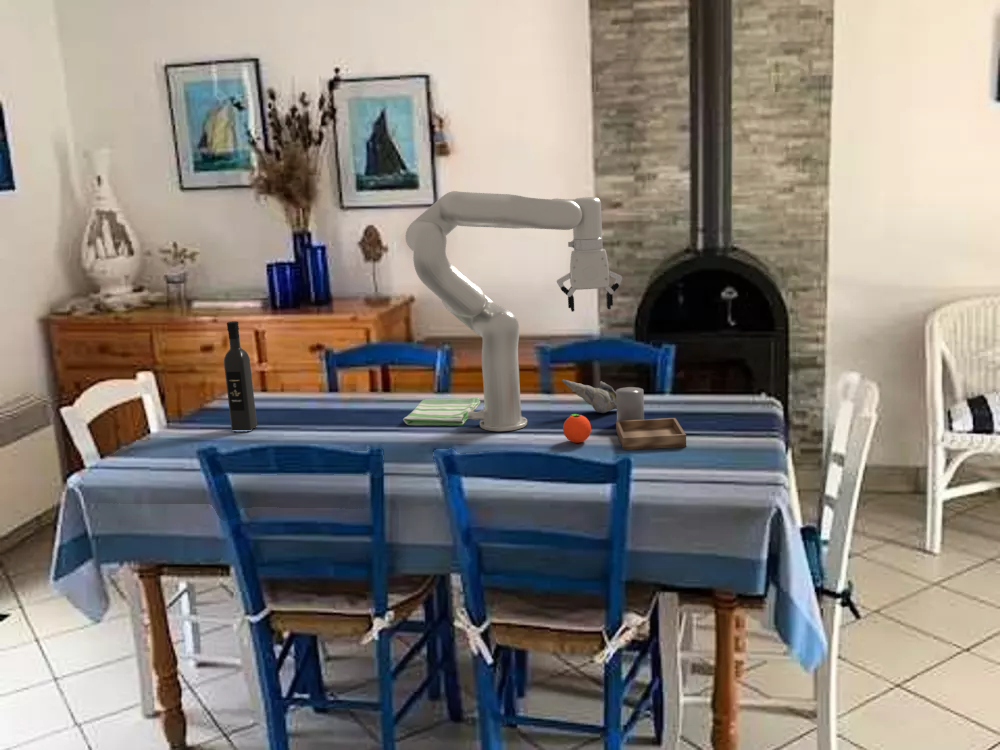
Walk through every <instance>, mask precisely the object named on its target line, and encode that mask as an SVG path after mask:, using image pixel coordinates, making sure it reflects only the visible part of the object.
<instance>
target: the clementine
mask: <svg viewBox="0 0 1000 750" xmlns="http://www.w3.org/2000/svg"><path fill="white" fill-rule="evenodd" d="M562 426H563V427H562V430H563V434H564V436H565V438H566V439H567V440H568V441H570V442H571V443H574V444H576V443H577V444H579V443H583V442H585V441H586V440H587V439H588V438H589V437H590V435H591V432H592V426H591V422H590V421H589V419H588V418H587V417H586V416H584V415H582V414H577V413H573V414H570V415H569V417H567V418H566V420H564V423H563V425H562Z"/></svg>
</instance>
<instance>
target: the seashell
mask: <svg viewBox="0 0 1000 750" xmlns="http://www.w3.org/2000/svg"><path fill="white" fill-rule="evenodd" d="M561 382H562V383H564V385H565V386H567V387H568V388H569V389H570V390H571V391H572V392H574V393H575V394H576V395H577V396H578V397H579V398H581V399H583V400H584V402H585V403H587V404H588V405H590V406H591V407H592V408H593V409H594V411H595V413H601V414H605V413H608V412H609V411H612V410H617V404H616V390H614V388H613V386H611V385H609V384H607V383H606V382H603V381H602V380H601V381H599V385H598V387H593V386H591V385H588V384H582V383H578V382H575V381H570V380H567V379H561Z"/></svg>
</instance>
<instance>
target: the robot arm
mask: <svg viewBox="0 0 1000 750" xmlns="http://www.w3.org/2000/svg"><path fill="white" fill-rule="evenodd" d="M602 217H603V216H602V202H601V200H600V199H599V197H596V196H585V197H577V198H571V199H570V198H568V199H567V198H566V199H565V198H535V197H528V196H527V197H526V196H522V195H518V194H511V193H510V194H509V193H491V192H490V193H488V192H486V193H485V192H469V191H467V192H466V191H457V190H456V191H455V190H453V191H452V190H451V191H448V192H447V193H445V194H443V196H441V197H440V198H438V199H437V200H436V202H434V203H433V204H432V205H430V206H429V207H428V209H426V210H425V211H424V212H422V213H421V214H420V215H419V216H418V217H417V218H416V219H415V220H413V221H412V222H411V223H410V224H409V225H408V227H407V229H406V232H405V242H406V245H407V247H408V248H409V249H410V250H411V251H413V254H412V255H413V257H412V258H413V259H412V260H413V266H414V269H415V273H416V275H417V277H418V278H419V280H420V281H421V283H423V284H424V285H425V286H426V288H428V290H430V291H431V292H432V293H434V295H435V296H437V298H438V299H440V300H441V302H442V305H443V306H444V308H445V309H447V311H448V312H450V314H452V315H453V316H454V317H455V318H457V319H458V320H459V321H460V322H461V323H462V324H464V325H465V326H466V327H468V328H469V329H470V330H471V331H473V332H474V333H475V334H476V335H478V336H479V337H481V338H482V346H481V348H482V349H481V369H482V370H481V371H482V384H483V402H484V404H483V405H484V407H483V409H480V410H479V411H475V410H474V411H472V412H468V419H467V420H472V421H477V420H478V421H479V420H480V421H479V427H480V428H481V429H483V430H485V431H491V432H509V431H510V432H511V431H516V430H519V429H523V428H524V427H526V426H527V425H528V419H527V418H526V417H525V416H522V407H521V389H520V388H521V387H520V366H519V340H520V326H519V321H518V319H517V317H516V315H515V314H514V313H513V312H512V311H511V310H509V309H508V308H506V307H503V306H501V305H498V304H497V303H496V302H494V301H493V300H492V299H491V298H489V297H488V296H487V295H486V294H485V293H484V291H483V289H482V288H481V286H480V285H478V284H477V283H475V281H473V280H471V279H470V278H469V277H467V276H466V275H465V274H463V273H462V272H461V271H460V270H459V269H458V268H457V267H456V266H455V265H454V264H452V262H450V261H449V259H448V257H447V254H446V251H447V250H446V247H447V236H448V235H449V234H450V233H451V232H452V231H453V230H454V229H455V228H457V227H458V226H460V227H470V228H471V227H472V228H473V227H474V228H498V229H500V228H501V229H515V230H516V229H535V230H536V229H538V230H556V231H557V230H559V231H569V230H572V236H573V238H572V240H571V241H568V243H567V245H568V246H567V247H568V248H572V249H573V250H571V252H570V264H569V273H566V274H564V275H563V276H561V277H559V278H558V279H556V283H557V285H558V287H559V288H560V290H561V291H562V292H563V293H564V294H565V295H566V296H567V301H568V302H567V303H568V304H567V306H568V309H570V311H571V312H575V297H574V295H573V294H574V293H575V292H576V290H578V291H579V290H596V289H598V290H599V289H605V290H606V291H607V292H606V294H605V296H606V308H607V309H608V310H611V309H612V308H611V307H613V306H614V300H613V298H614V297H613V295H614V293H615V291H616V290H617V289H618V288H619V287H620V285H621V283H622V281H623V276H622V275H621V274H618V273H616V272H614V271H611V270H610V269H609V268H610V266H609V260H608V255H607V250H606V249H604V248H603V246H604V245H603V244H604V243H603V226H602V225H603V223H602V222H603V221H602ZM610 277H611V278H613V279H615V281H614V283H613V284H612V285H611V286H610ZM568 280H569V283H570V287H569V288H567V287H566V286H565V285H564V283H565V282H567V281H568Z"/></svg>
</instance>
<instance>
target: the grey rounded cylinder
mask: <svg viewBox="0 0 1000 750" xmlns="http://www.w3.org/2000/svg"><path fill="white" fill-rule="evenodd" d="M615 392H616V404H617V409H616V421H626V420H645V398H644V389H643V388H641V387H634V386H627V387H620V388H617V389H616V390H615Z"/></svg>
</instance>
